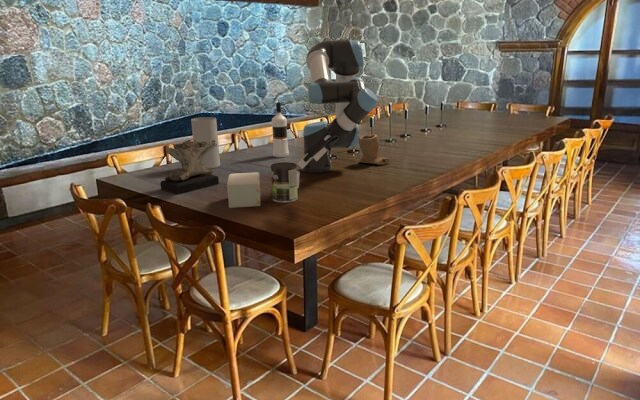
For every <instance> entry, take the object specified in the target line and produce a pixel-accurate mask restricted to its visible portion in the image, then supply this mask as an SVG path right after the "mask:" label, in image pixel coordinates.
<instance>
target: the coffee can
mask: <svg viewBox="0 0 640 400" xmlns="http://www.w3.org/2000/svg"><path fill="white" fill-rule="evenodd" d="M297 166H298V164H297V163H294V162H287V161H284V162H276V163H275V162H274V163H272V164H271V165H270V173H271V190H272V191H271V193H272V194H271V195H272V202H275V203H282V204H283V203H293V202H295V201H297V200H298V198H299V197H298V188H297V172H296V171H297Z"/></svg>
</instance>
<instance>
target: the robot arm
mask: <svg viewBox="0 0 640 400" xmlns="http://www.w3.org/2000/svg"><path fill="white" fill-rule="evenodd" d="M305 59H306V60H305V61H306V65H307V66H306V67H307V68H308V70H309V71H310V72H309V73H310V78H311V80H310V81H311V83H308V85H307V94H308V95H307V96H308V102H309V104H313V105H316V104H317V105H321V104H335V113H334V116H335V118H333V120H332V121H331V122H330V123H329V124H328V122H327V121H324V120H323V121H316V122H311V123H308V124H306V125H304V127H303V134H302V135H303V157H302V158H301V159H300V160H299V161H298V162H297V163H296V165H297V166H299V167H300V169H301V172H302V173H303V172H304V173H308V174H321V173H328V172H330V171H332V169H333V168H332V162H331V159H330V157H329V153H328V151H329V152H330V151H331V150H332V149H345V148H346V149H349V148H355V147H356V146H357V145H358V143H359V138H360V137H359V136H360V127H359V124H360V123H361V122H362V121H363V120H364V119H365V118H366V117H367V116H368V115H369V114H370V112H371V111H373V110H374V108H375V107H376V106H378V103H379V98H378V97H377V96H376V94H375V92H373V91H372V90H371V89H369V88H368V86H367V85H366V82H365V81H364V79H363V78H361V77H359V76H356V75H358V74H359V73H360V69H362V68H363V67H364V54H363V49H362V43H361V42H360V40H358V39H357V40H355V39H353V40H352V39H347V40H345V39H344V40H323V41H320V42H317V43H316V44H315V45H314V46H312V47H311V48H310V49H309V50H308V52H307V55H306V58H305ZM330 69H332V71H333V73H334V75H336V78H335V79H336V80H335V82H332V78H331V74H330V73H331V72H330Z"/></svg>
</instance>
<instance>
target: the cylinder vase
mask: <svg viewBox="0 0 640 400" xmlns="http://www.w3.org/2000/svg"><path fill="white" fill-rule="evenodd" d="M190 121H191V123H190V124H191V131H192V132H191V133H192V139H193V141H192V142H194V140H196V141H197V142H202V141H204V142H207V143H208V142H210V143H211V142H212V141H213V140H215V141H216V144H217V146H216V147H214V148H213V149H211V150H210V151H209V152H207V153H206V154H205V156H204V157H203V158H202V161H201V165H204V166H205V167H206V168H211V169H212V170H213V169H217V168H219V167H220V166H221V160H220V159H221V158H220V147H219V138H218V137H219V136H218V124H217V123H218V122H217V117H209V116H207V117H204V116H203V117H195V118H191V119H190Z"/></svg>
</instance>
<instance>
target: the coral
mask: <svg viewBox="0 0 640 400" xmlns="http://www.w3.org/2000/svg"><path fill="white" fill-rule="evenodd" d="M183 144H184V146H185V147H186V148H185V149H184V147H183ZM216 146H217V144H216V141H215V140H213V141H212V142H211V143H210V142H208V143H207V142H204V141H202V142H197V141H196V140H194V142H193V141H191V139H188V140H185V141H183V142H182V144H179V143H178V144H175V145H173V146H172V147H173V148H172V147H169V146H166V148H165V152H166V153H167V154H168V155H169V156H171V157H172V158H173V159H175V160H176V161H178V162H179V163H180V165H181V170H180V171H177V172H176V171H172V172H169V173H167V175H166V177H165V178H164V180H161V181H160V190H161V191H164V192H168V193H172V194H175V195H178V196H179V195H182V194H186V193H191V192H194V191H197V190H201V189H202V190H203V189H204V188H205V189H206V188H209V187H214V186H217V185H219V183H220V182H219V181H220V180H219V176H218V175H215V174H213V172H214V171H213V169H211V168H206V167H205V166H204V165H201V161H202V158H203V157H204V156H205V154H206V153H207V152H209V151H210V150H211V149H213V148H214V147H216Z"/></svg>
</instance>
